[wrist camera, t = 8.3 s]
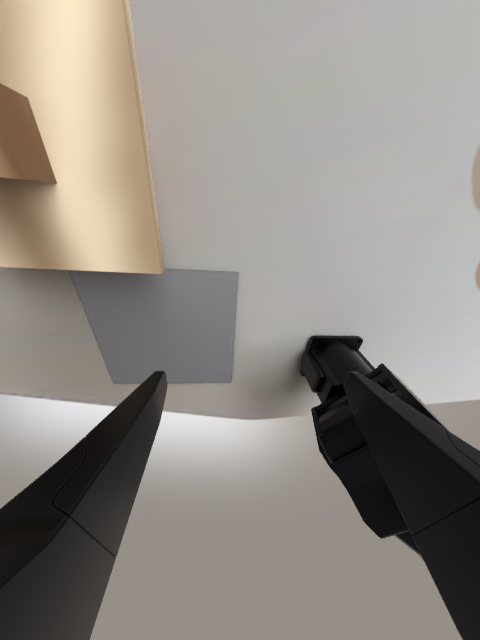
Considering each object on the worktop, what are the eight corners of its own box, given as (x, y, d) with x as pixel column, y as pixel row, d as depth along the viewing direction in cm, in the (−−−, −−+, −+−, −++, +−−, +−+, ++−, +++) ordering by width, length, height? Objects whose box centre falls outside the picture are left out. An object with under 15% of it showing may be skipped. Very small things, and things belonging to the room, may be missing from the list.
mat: (238, 272, 19) (238, 273, 18) (231, 379, 27) (231, 382, 26) (71, 264, 17) (67, 265, 17) (115, 380, 25) (113, 383, 25)
